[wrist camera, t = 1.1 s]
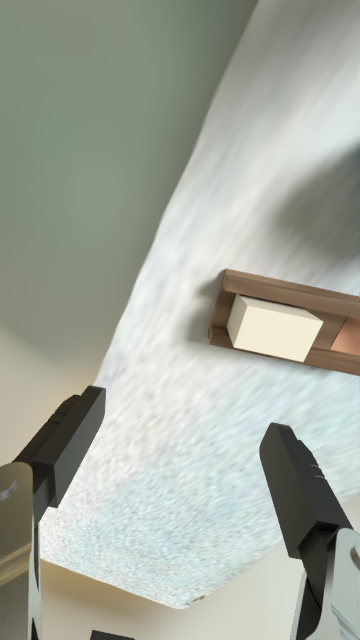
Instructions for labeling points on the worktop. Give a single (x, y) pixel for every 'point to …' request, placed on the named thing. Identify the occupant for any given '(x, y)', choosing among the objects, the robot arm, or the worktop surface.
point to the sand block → (272, 327)
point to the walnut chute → (329, 306)
